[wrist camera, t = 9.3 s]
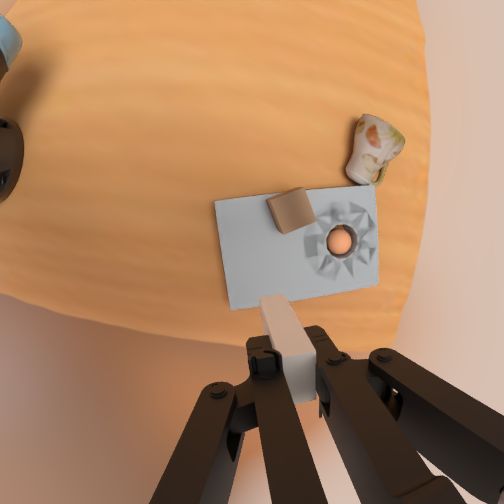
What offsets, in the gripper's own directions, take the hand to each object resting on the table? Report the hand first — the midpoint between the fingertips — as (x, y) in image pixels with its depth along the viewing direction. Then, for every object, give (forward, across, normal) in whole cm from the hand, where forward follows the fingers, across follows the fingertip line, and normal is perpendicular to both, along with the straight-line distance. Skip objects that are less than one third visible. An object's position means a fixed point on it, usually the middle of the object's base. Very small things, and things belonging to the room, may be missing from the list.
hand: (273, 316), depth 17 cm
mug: (+22, +18, +11) cm, 31 cm away
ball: (+20, +12, -1) cm, 23 cm away
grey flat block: (+22, +7, 0) cm, 23 cm away
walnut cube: (+18, +5, +5) cm, 20 cm away
